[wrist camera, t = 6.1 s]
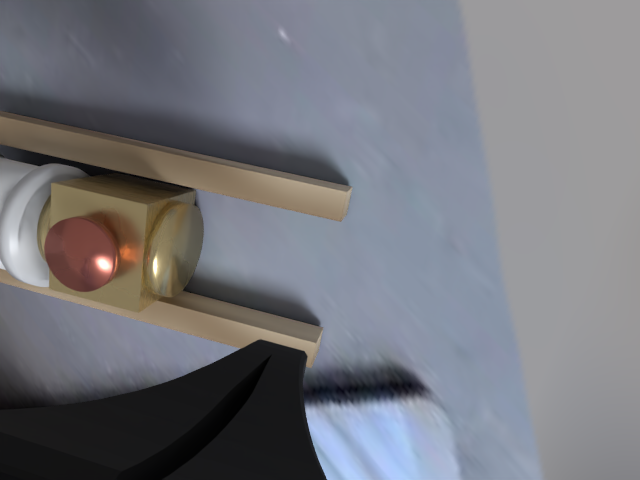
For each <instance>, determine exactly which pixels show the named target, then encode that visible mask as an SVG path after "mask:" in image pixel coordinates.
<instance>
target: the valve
mask: <svg viewBox="0 0 640 480" xmlns="http://www.w3.org/2000/svg"><path fill="white" fill-rule="evenodd" d="M195 194H196V190H192V189H187V188H183V187H178V186H174V185H169V184H165V183H160V182H156V181H151V180H147V179H142V178H137V177H133V176H128V175H124V174H119V173H110V174H104V175H98V176H91V177H85V178H79V179H72V180H66V181H59V182H53V183H51V195H50V196H49V197H48V199H47V201H46V202H45V204H44V206H43V208H42V211H41V213H40V217H39V220H38V226H37V244H38V249H39V252H40V254H41V256H42V258H43V259H44V261H45V262H46V263H47V264H48V266H49V289H50V290H54V291H58V292H62V293H65V294H69V295H73V296H77V297H80V298H84V299H88V300H92V301H95V302H99V303H103V304H107V305H110V306H114V307H118V308H122V309H125V310H129V311H133V312H137V313H139V312H141V311H142V310H144V309H145V308H147V307H148V306H150V305H151V304H153V303H154V302H156V301H157V300H159V299H160V298H162V297H163V296H165V297H174V296H176V295H178V294H179V293H180V292H181V291H182V290H183V289H184V288H185V287H186V285H187V284H188V282H189V281H190V279H191V277H192V275H193V273H194V271H195V269H196V266H197V263H198V260H199V257H200V253H201V249H202V243H203V232H204V227H203V218H202V215H201V212H200V210H199V209H198V207H197V206H195V205H194V204H195Z"/></svg>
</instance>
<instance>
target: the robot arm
mask: <svg viewBox="0 0 640 480" xmlns="http://www.w3.org/2000/svg"><path fill="white" fill-rule="evenodd" d="M307 358H308V356H307V354H306V353H305V351H303V350H299V349H295V348H292V347H288V346H284V345H280V344H277V343H273V342H269V341H266V340H262V339H259V340H257V341H255V342H253V343H251V344H249V345H247V346H245V347H243V348H241V349H239V350H238V351H236V352H234V353H232V354H230V355H228V356H226V357H224V358H222V359H220V360H218V361H216V362H214V363H212V364H210V365H207V366H205V367H203V368H200V369H198V370H196V371H193V372H191V373H189V374H186V375H184V376H182V377H179V378H176V379H174V380H171V381H168V382H165V383H162V384H159V385H156V386H152V387H149V388H146V389H142V390H139V391H135V392H130V393H126V394H122V395H117V396H113V397H109V398H104V399H99V400H93V401H87V402H81V403H75V404H67V405H59V406H50V407H39V408H23V409H8V410H0V480H327V479H326V476H325V474H324V472H323V469H322V467H321V465H320V463H319V460H318V458H317V455H316V452H315V449H314V446H313V443H312V439H311V436H310V432H309V428H308V423H307V418H306V412H305V406H304V398H303V378H304V373H305V368H306V363H307Z"/></svg>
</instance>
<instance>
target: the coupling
mask: <svg viewBox="0 0 640 480" xmlns="http://www.w3.org/2000/svg"><path fill="white" fill-rule="evenodd" d="M85 177H90V176H89V175H88V174H86V173H85V172H84V171H82V170H81V169H78V168H75V167H71V166H67V165H63V164H46V165H43V166H36V165H31V164H27V163H23V162H18V161H14V160H10V159H6V158H5V157H4V156H3V155H1V154H0V269H4V270H7V272H8V273H9V274H10V275H11V276H12V277H13V278H15V279H17V280H18V281H21V282H23V283H27V284H30V285H34V286H38V287H49V266H48V264H47V263H46V262H45V261H44V259H43V258H42V256H41V254H40V252H39V249H38V244H37V226H38V220H39V217H40V213H41V211H42V208H43V206H44V204H45V202H46V201H47V199H48V197H49V196H50V195H51V183H53V182H59V181H66V180H72V179H79V178H85Z"/></svg>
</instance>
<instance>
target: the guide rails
mask: <svg viewBox="0 0 640 480" xmlns="http://www.w3.org/2000/svg"><path fill="white" fill-rule="evenodd" d="M0 144H2V145H6V146H11V147H15V148H20V149H24V150H28V151H33V152H37V153H42V154H46V155H50V156H55V157H59V158H63V159H68V160H72V161H77V162H81V163H85V164H90V165H94V166H99V167H103V168H107V169H112V170H116V171H121V172H125V173H129V174H134V175H138V176H143V177H147V178H151V179H156V180H160V181H165V182H169V183H173V184H178V185H182V186H186V187H191V188H195V189H200V190H204V191H208V192H213V193H217V194H222V195H226V196H230V197H235V198H239V199H244V200H248V201H252V202H257V203H261V204H266V205H270V206H274V207H279V208H283V209H287V210H292V211H296V212H301V213H305V214H309V215H314V216H318V217H323V218H327V219H331V220H336V221H340V222H341V221H342V220H343V218H344V217H345V216H346V215H347V210H348V206H349V201H350V196H351V191H352V187H351V186H346V185H342V184H337V183H332V182H328V181H323V180H318V179H314V178H309V177H304V176H300V175H295V174H291V173H286V172H281V171H277V170H272V169H267V168H263V167H258V166H254V165H249V164H244V163H240V162H235V161H230V160H226V159H221V158H217V157H212V156H207V155H203V154H198V153H193V152H189V151H184V150H180V149H175V148H170V147H166V146H161V145H156V144H152V143H147V142H143V141H138V140H133V139H129V138H124V137H119V136H115V135H110V134H105V133H101V132H96V131H92V130H87V129H82V128H78V127H73V126H68V125H64V124H59V123H55V122H50V121H45V120H41V119H36V118H31V117H27V116H22V115H18V114H13V113H8V112H4V111H0ZM0 282H2V283H5V284H9V285H13V286H16V287H20V288H23V289H27V290H31V291H34V292H38V293H42V294H45V295H49V296H52V297H56V298H60V299H63V300H67V301H71V302H74V303H78V304H81V305H85V306H89V307H92V308H96V309H100V310H103V311H107V312H111V313H114V314H118V315H121V316H125V317H129V318H132V319H136V320H140V321H143V322H147V323H150V324H154V325H158V326H161V327H165V328H169V329H172V330H176V331H179V332H183V333H187V334H190V335H194V336H198V337H201V338H205V339H208V340H212V341H216V342H219V343H223V344H227V345H230V346H234V347H237V348H243V347H245V346H247V345H249V344H251V343H253V342H255V341H257V340H259V339H262V340H266V341H269V342H273V343H277V344H280V345H284V346H288V347H292V348H295V349H299V350H303V351H305V353H306V354H307V356H308V358H307V363H306V367H310V368H311V367H312V365H313V363H314V360H315V358H316V356H317V353H318V351H319V346H320V341H321V336H322V331H323V327H319V326H315V325H311V324H307V323H304V322H300V321H296V320H292V319H288V318H284V317H281V316H277V315H273V314H269V313H265V312H262V311H258V310H254V309H250V308H246V307H243V306H239V305H235V304H231V303H227V302H223V301H220V300H216V299H212V298H208V297H204V296H201V295H197V294H193V293H189V292H185V291H181V292H180V293H179V294H178V295H176V296H174V297H165V296H163V297H162V298H160V299H159V300H157V301H156V302H154V303H153V304H151V305H150V306H148V307H147V308H145V309H144V310H142V311H141V312H139V313H137V312H133V311H129V310H125V309H122V308H118V307H114V306H110V305H107V304H103V303H99V302H95V301H92V300H88V299H84V298H80V297H77V296H73V295H69V294H65V293H62V292H58V291H54V290H50V289H49V287H38V286H34V285H30V284H27V283H23V282H21V281H18V280H17V279H15V278H13V277H12V276H11V275H10V274H9V273H8V272H7V270H4V269H0Z"/></svg>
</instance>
